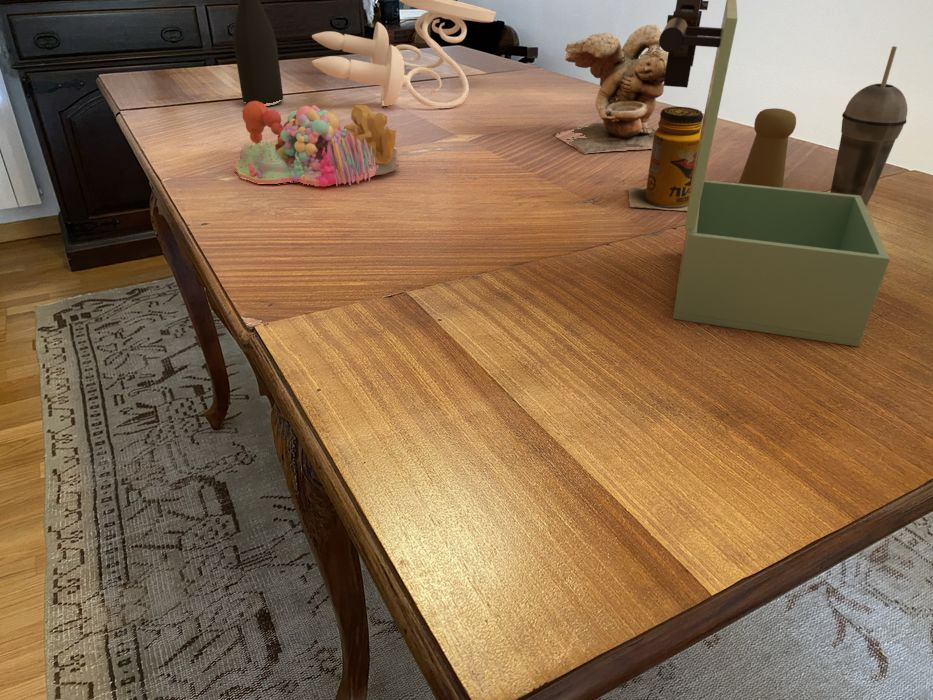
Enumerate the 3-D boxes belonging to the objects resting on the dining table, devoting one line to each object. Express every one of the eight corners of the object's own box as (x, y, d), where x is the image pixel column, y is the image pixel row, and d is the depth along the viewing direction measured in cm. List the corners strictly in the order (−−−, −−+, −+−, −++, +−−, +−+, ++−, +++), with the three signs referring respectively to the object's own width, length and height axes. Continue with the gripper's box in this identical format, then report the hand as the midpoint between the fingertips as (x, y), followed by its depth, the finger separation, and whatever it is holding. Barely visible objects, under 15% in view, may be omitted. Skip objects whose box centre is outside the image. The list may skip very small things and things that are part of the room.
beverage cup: (881, 203, 95) (933, 44, 85) (872, 219, 90) (927, 52, 80) (823, 193, 99) (867, 38, 88) (812, 208, 94) (857, 46, 83)
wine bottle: (250, 98, 146) (225, -70, 130) (288, 99, 146) (267, -70, 130) (238, 107, 139) (209, -69, 123) (277, 108, 139) (254, -69, 123)
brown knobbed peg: (728, 189, 100) (745, 109, 94) (750, 180, 103) (768, 102, 98) (768, 200, 96) (788, 117, 90) (790, 190, 100) (810, 110, 94)
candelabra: (476, 0, 169) (318, -36, 159) (522, 27, 132) (319, -17, 122) (458, 86, 179) (309, 58, 169) (497, 135, 142) (308, 102, 132)
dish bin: (836, 272, 77) (860, 195, 72) (858, 347, 64) (890, 258, 59) (682, 252, 81) (695, 178, 77) (672, 319, 68) (688, 234, 63)
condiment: (695, 212, 92) (713, 118, 86) (629, 208, 93) (642, 115, 87) (689, 193, 98) (705, 104, 92) (627, 189, 99) (639, 101, 93)
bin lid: (736, -3, 67) (673, -6, 68) (737, 18, 54) (659, 13, 55) (700, 175, 76) (645, 168, 78) (694, 230, 63) (628, 221, 64)
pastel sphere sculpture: (376, 137, 121) (373, 81, 116) (422, 178, 103) (420, 114, 98) (226, 153, 113) (216, 93, 108) (247, 201, 95) (235, 131, 90)
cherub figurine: (586, 157, 112) (598, 36, 103) (541, 129, 127) (548, 20, 117) (682, 147, 117) (702, 31, 108) (628, 121, 132) (641, 16, 122)
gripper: (683, -128, 87) (656, 56, 98) (668, -140, 67) (637, 93, 78) (747, -128, 85) (712, 59, 96) (752, -140, 65) (707, 99, 76)
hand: (678, 75), depth 87 cm, fingers open, 13 cm apart
